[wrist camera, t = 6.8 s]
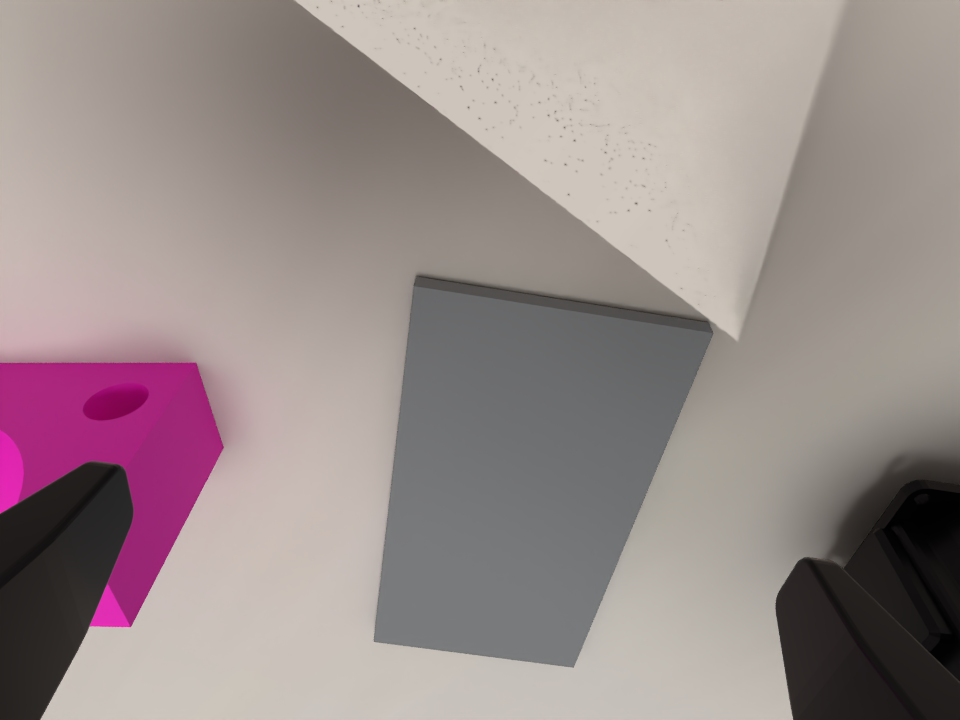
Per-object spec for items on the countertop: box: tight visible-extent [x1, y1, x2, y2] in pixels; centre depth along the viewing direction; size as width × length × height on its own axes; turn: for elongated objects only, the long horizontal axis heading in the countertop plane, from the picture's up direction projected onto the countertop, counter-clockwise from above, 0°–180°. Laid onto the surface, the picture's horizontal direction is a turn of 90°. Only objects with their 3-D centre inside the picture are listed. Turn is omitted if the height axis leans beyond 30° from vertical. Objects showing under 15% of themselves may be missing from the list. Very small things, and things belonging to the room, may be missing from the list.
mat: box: [374, 277, 713, 668], centre depth 25 cm, size 9×18×1 cm, turn 171°
